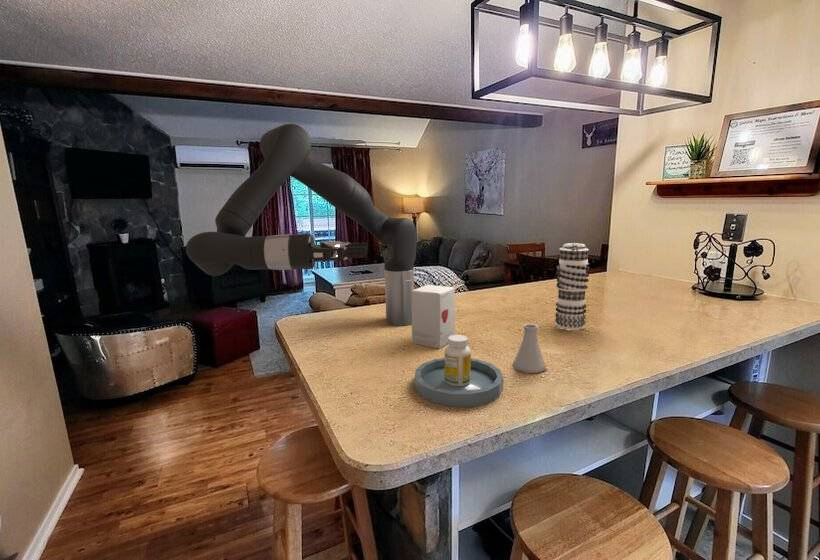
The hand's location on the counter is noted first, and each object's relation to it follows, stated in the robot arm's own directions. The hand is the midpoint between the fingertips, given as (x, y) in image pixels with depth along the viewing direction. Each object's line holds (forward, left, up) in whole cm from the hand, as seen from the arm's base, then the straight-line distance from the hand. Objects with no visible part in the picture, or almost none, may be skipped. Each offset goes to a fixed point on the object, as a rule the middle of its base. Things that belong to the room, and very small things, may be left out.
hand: (366, 249), depth 86 cm
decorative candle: (-52, +38, -28) cm, 71 cm away
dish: (-1, +20, -28) cm, 35 cm away
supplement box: (-24, +5, -28) cm, 38 cm away
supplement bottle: (-1, +20, -27) cm, 34 cm away
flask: (-16, +32, -28) cm, 46 cm away
